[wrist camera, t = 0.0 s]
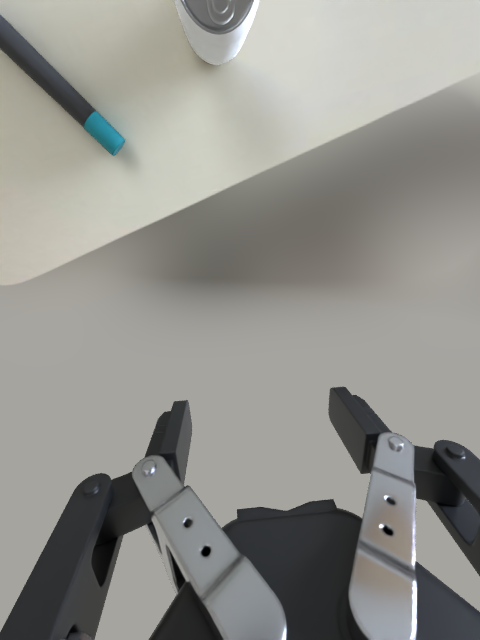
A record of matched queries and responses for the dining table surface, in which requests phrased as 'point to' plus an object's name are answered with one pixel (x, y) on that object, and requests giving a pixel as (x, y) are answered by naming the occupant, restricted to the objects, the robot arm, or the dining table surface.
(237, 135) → the dining table surface
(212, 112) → the dining table surface
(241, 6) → the can
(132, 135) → the dining table surface
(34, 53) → the marker
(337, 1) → the dining table surface
